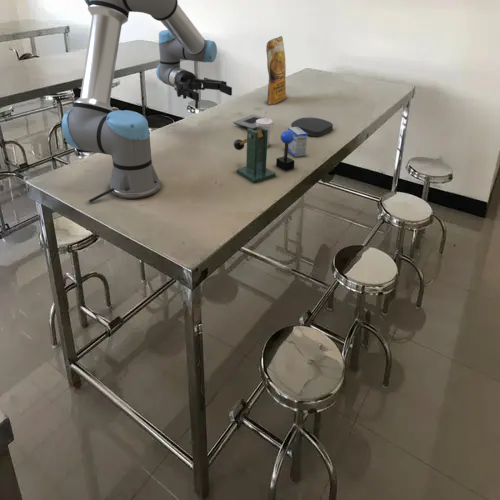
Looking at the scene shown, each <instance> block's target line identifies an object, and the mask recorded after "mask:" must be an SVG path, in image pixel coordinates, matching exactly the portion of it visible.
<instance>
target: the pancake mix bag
mask: <svg viewBox="0 0 500 500" xmlns="http://www.w3.org/2000/svg"><path fill="white" fill-rule="evenodd" d="M265 51H266V52H265V53H266V60H267V62H266V65H267V75H268V83H267V98H266V104H267V105H276V104H278V103H280V102H282V101H284V100H286V99H287V92H286V91H287V90H286V81H287V80H286V75H287V74H286V73H287V72H286V71H287V70H286V69H287V68H286V66H287V65H286V53H285V52H286V51H285V45H284V37H283V35H280V36H277V37H274V38H272V39H270V40H269V41H267V43H266V50H265Z"/></svg>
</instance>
